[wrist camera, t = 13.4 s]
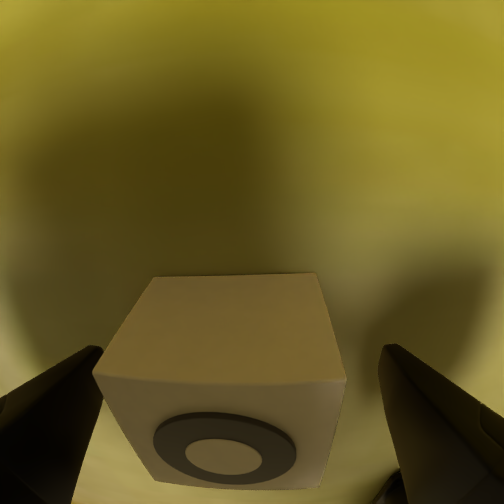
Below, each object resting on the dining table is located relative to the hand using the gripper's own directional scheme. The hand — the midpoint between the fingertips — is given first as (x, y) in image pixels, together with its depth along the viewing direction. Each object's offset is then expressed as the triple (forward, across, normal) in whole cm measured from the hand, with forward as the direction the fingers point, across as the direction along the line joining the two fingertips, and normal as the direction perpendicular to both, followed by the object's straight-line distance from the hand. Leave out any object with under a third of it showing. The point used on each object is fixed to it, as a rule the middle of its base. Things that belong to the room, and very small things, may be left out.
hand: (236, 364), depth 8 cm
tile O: (+1, 0, 0) cm, 1 cm away
